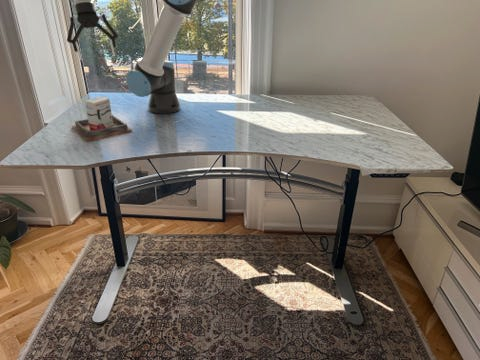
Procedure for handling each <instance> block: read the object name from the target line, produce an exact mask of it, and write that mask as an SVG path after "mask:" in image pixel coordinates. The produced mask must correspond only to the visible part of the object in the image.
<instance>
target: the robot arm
mask: <svg viewBox="0 0 480 360" xmlns="http://www.w3.org/2000/svg"><path fill="white" fill-rule="evenodd" d="M205 1H206V0H162V2H163V6H162V8H161V10H160V13H159V16H158V19H157V20H156V24H155V26H154V28H153V31H152V34H151V36H150V39H149V42H148V44H147V46H146V49H145V51H144V54H143V56H142V57H140V58H138V59H137V61H136V64H135V66H134V68H133V69H130V70H129V71H128V72H127V73H126V76H125V82H126V85H127V87H128V89H129V91H130V92H131V93H132V94H133V95H135V96H136V97H140V98H144V97H148V96H149V100H148V110H149V112H150V113H154V114H159V115H160V114H162V115H166V114H173V113H176V111H177V112H178V110H179V109H180V110H181V104H180V100H179V99H178V96H177V93H176V79H175V78H176V77H175V66H174V65H175V64H174V62H173V61H171V60H167V58H168V55H169V53H170V51H171V49H172V46H173V44H174V42H175V39H176V38H177V35H178V34H179V30H180V29H181V26H182V24H183V21H184V20H185V17H187V16H188V17H189V16H190V15H191V14H192V12H193V9H194V8H195V5H196V4H201V3H203V2H205ZM73 3H74V4H75V6H74V7H75V12H76V15H77V17H73V16H70V17H69V20H70V21H69V22H70V25H69V30H68V34H67V38H66V41H67V43H70V44H72V46H73V47H72V48H73V51H74V52H75V53H77V54H78V57H79V60H80V61H83V59H82V54H81V51H80V47H79V43H78V42H77V41H78V39H79V38H80V36H81V34H82V32H83V30H84V29H87V30H88V29H95V28H97V29H99V30H100V31H101V32H102V33H103V34H104V35H105V36H107V37H108V38H109V43H110V47H111V48H110V49H111V51H112V52H111V53H112V56H113V57H116V53H115V48H116V46H117V45H116V41H115V39H118V37H119V35H118V34H117V32H116V31H115V29H114V28H113V26H112V25H111V24H110V23H109V21H108V20H107V17H106V15H105V14H102V15H98V14H97V11H96V6H95V3H94V0H73ZM99 21H101V22H103V23H104V25H105V26H106V28H107V29H108V30H109V31H108V30H107V29H105V28H104V27H103V26H102V25H101V24H100V23H99ZM77 22H78V23H79V25H80V26H79V27H78V29H77V31H76V33H75V34H74V37H73V33H74V28H75V24H77ZM110 32H111V33H110ZM180 110H179V111H180ZM172 112H173V113H172Z"/></svg>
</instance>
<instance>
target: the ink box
mask: <svg viewBox="0 0 480 360" xmlns="http://www.w3.org/2000/svg"><path fill="white" fill-rule="evenodd" d="M84 103H85V109H86V114H87V119H88V122H89V127H90V129H91V130H100V129H105V128H108V127H111V126H113V119H112V115H113V114H112V109H111V101H110V98H109V97H105V96H101V95H100V96H97V97H93V98H90V99H87V100H85V101H84Z"/></svg>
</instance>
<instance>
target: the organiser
mask: <svg viewBox="0 0 480 360" xmlns="http://www.w3.org/2000/svg"><path fill="white" fill-rule="evenodd" d="M112 119H113V126H111V127H108V128H105V129H100V130H91V129H90V127H89V122H88V118H86V119H82V120H75V121H74V124H73V125H71V128H72V129H73V130H74V131H75V132H76V133H77V134H79V136H81V138H83V140H85V141H86V142H93V141H97V140H100V139H106V138H110V137H114V136H119V135H123V134H127V133H129V134H130V133H131V132H132V133H133V130H132V128H130V127H128V124H127V123H125V122H124V121H122V119H120V118H118V117H117V116H116V115H114V114H112Z"/></svg>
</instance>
